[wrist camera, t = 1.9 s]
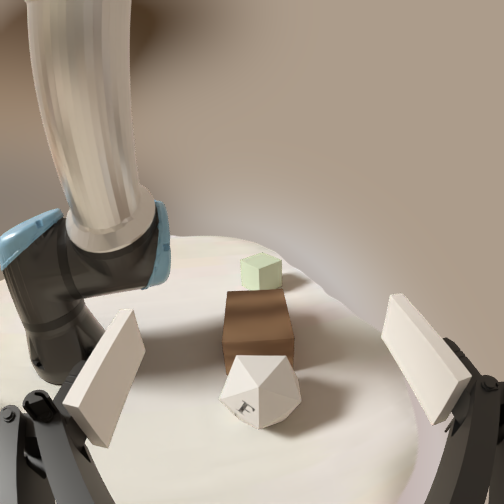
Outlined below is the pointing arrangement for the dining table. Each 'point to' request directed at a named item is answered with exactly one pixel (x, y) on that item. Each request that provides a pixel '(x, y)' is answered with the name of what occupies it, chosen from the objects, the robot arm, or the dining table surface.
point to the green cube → (261, 272)
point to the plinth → (257, 325)
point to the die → (261, 390)
